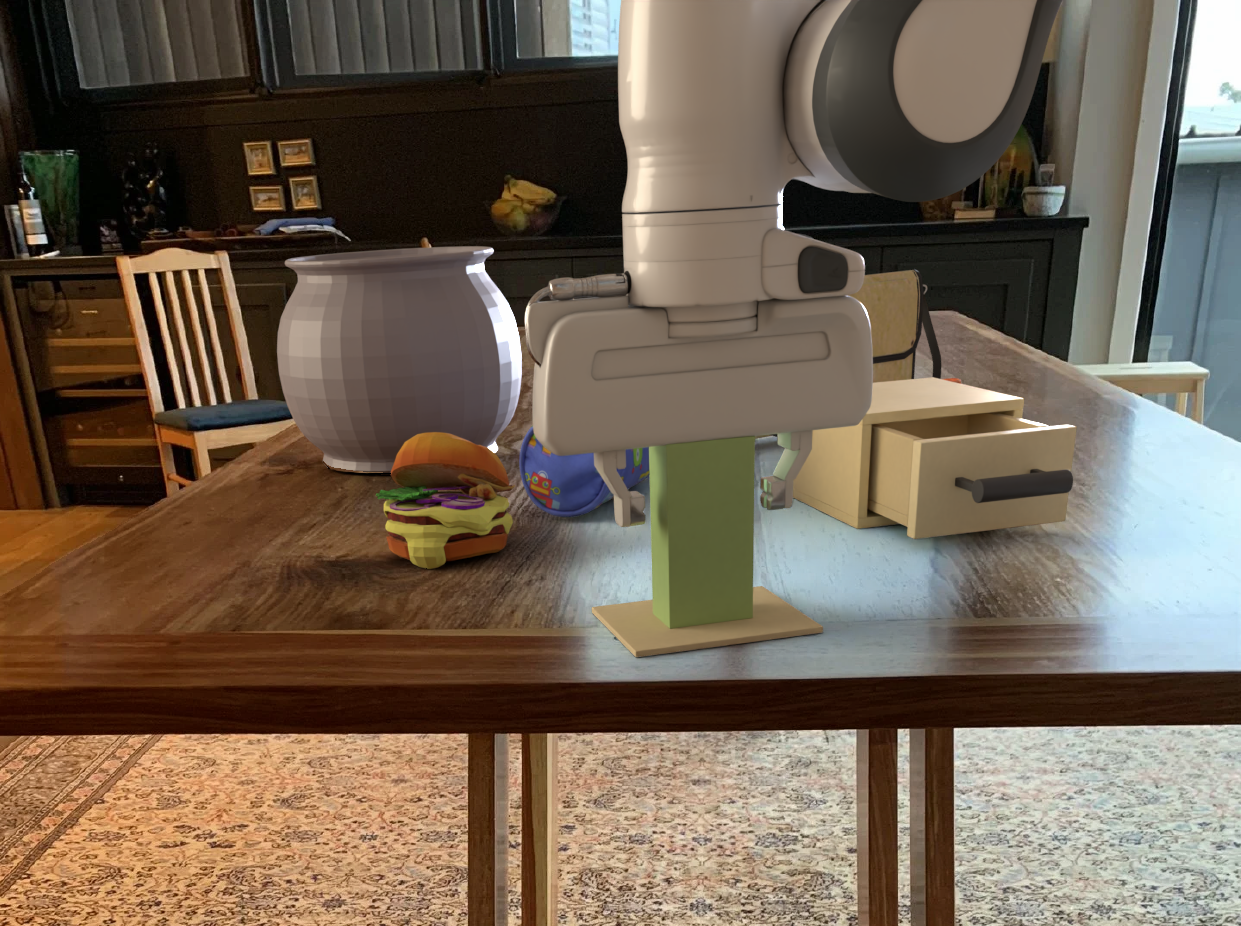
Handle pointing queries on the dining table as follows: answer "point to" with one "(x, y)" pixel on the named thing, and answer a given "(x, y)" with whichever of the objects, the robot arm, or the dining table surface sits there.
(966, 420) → the drawer
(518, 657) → the dining table surface
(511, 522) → the cheeseburger
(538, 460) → the pencil case
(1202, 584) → the dining table surface
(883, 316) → the woven shoulder bag
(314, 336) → the grey round vase
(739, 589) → the sage green upright pillar
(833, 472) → the cabinet
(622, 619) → the tan flat wooden board
